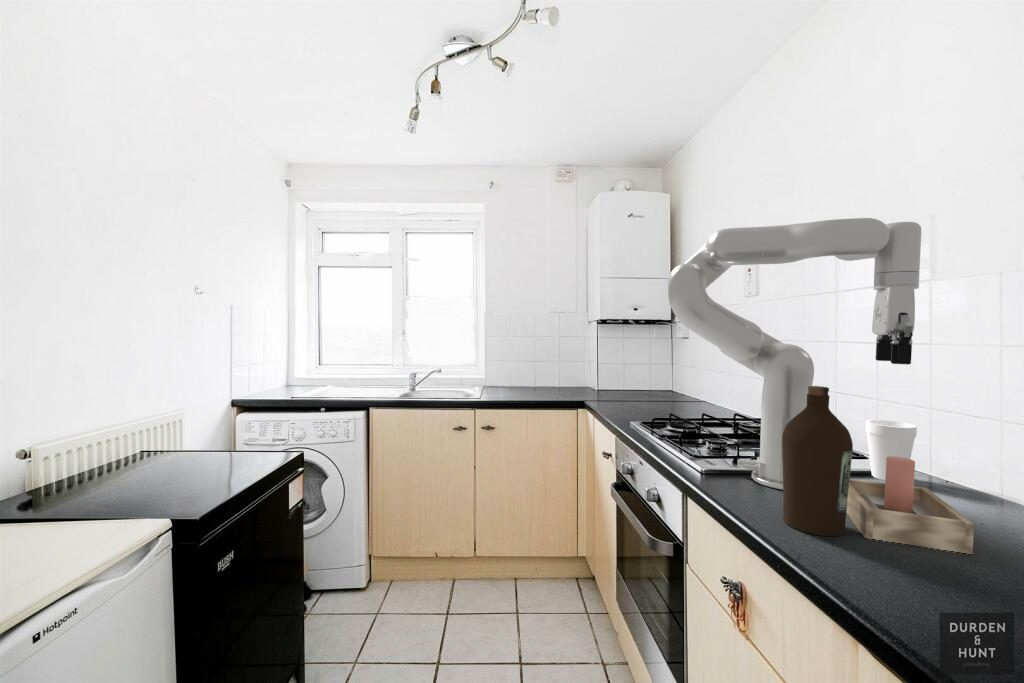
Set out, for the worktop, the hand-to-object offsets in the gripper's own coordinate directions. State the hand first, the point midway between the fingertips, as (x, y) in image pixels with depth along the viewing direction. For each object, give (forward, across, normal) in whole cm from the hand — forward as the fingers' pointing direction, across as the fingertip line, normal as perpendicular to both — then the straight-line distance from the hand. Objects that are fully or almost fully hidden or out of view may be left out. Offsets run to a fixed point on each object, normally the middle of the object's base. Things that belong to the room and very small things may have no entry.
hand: (892, 362), depth 102 cm
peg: (+28, +20, -4) cm, 35 cm away
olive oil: (+28, +27, -18) cm, 43 cm away
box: (+28, +20, -4) cm, 35 cm away
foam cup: (+28, -13, +4) cm, 32 cm away
